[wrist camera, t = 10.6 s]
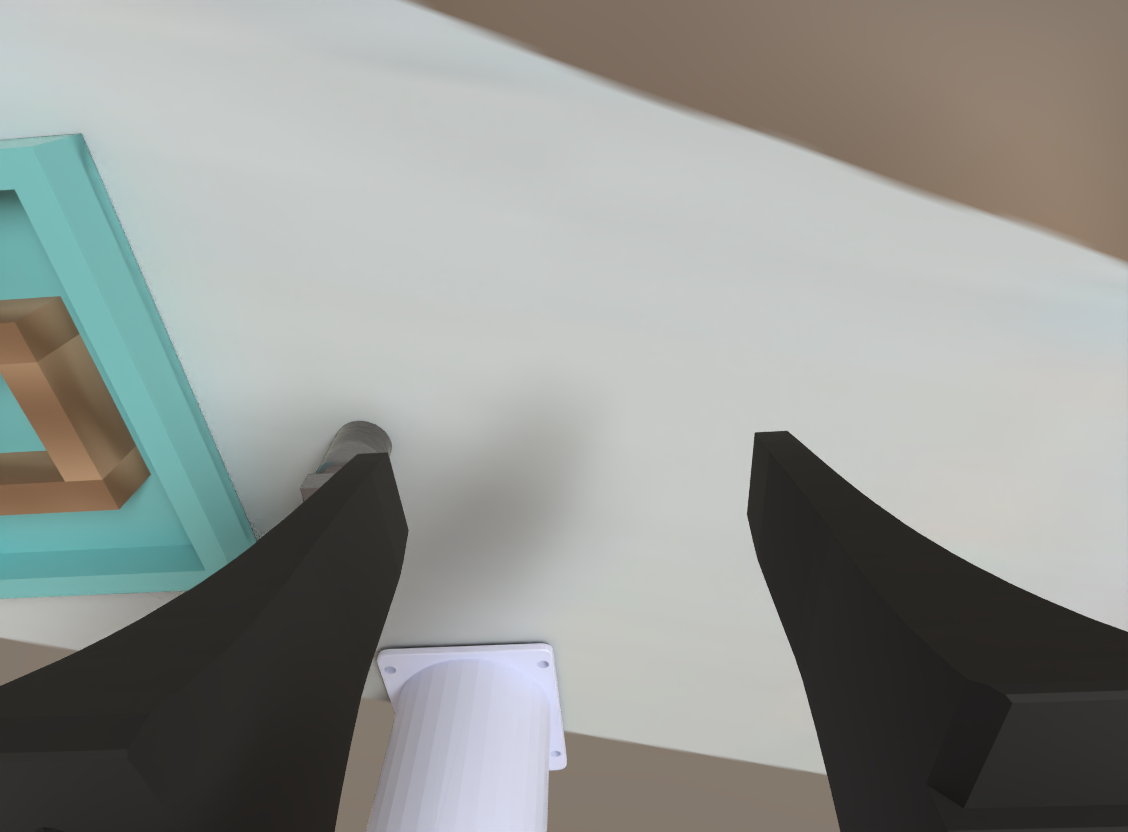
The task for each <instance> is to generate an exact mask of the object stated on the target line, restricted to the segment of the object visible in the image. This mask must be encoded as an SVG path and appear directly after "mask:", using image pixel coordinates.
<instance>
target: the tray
mask: <svg viewBox="0 0 1128 832" xmlns="http://www.w3.org/2000/svg"><path fill="white" fill-rule="evenodd" d="M55 296H61V298H62V300H63V302H64V304H65V306H66V308H67V310H68V312H69V314H70V316H71V318H72V320H73V322H74V323H75V325H76V327H77V329H78V331H79V333H80V335H81V337H82V339H83V341H84V343H85V345H86V347H87V349H88V351H89V353H90V355H91V357H92V359H93V361H94V363H95V365H96V367H97V369H98V371H99V373H100V375H101V377H102V379H103V381H104V383H105V385H106V387H107V389H108V391H109V393H110V395H111V396H112V398H113V400H114V402H115V404H116V406H117V408H118V410H119V412H120V414H121V416H122V418H123V420H124V422H125V424H126V426H127V428H128V430H129V432H130V434H131V436H132V438H133V440H134V442H135V444H136V446H137V448H138V450H139V452H140V454H141V456H142V458H143V460H144V462H145V464H146V466H147V468H148V469H149V471H150V473H151V475H150V476H149V477H148V478H147V479H146V481H145V482H144V483H143V484H142V485H141V486H140V487H139V488H138V489H137V491H136V492H135V493H134V494H133V495H132V496H131V497H130V498H129V499H128V501H127V502H126V503H125V504H124V505H123V506H122V507H121V508H120V509H119V510H103V511H83V512H63V513H43V514H22V515H2V516H0V599H6V598H29V597H52V596H75V595H98V594H121V593H144V592H166V591H188V590H190V589H191V588H193V587H195V586H196V585H198V584H199V583H201V582H202V581H204V580H205V579H207V578H208V577H209V576H211V575H212V574H214V573H215V572H217V571H218V570H220V569H221V568H223V567H224V566H225V565H227V564H228V563H230V562H231V561H232V560H234V559H235V558H236V557H238V556H239V555H240V554H242V553H243V552H244V551H246V550H247V549H248V548H250V547H251V546H252V545H253V544H255V543H256V542H257V541H256V538H255V536H254V534H253V531H252V529H251V527H250V524H249V522H248V520H247V517H246V515H245V513H244V510H243V508H242V506H241V503H240V501H239V499H238V496H237V494H236V492H235V489H234V487H233V485H232V483H231V480H230V478H229V476H228V473H227V471H226V469H225V466H224V464H223V462H222V459H221V457H220V455H219V452H218V450H217V448H216V445H215V443H214V441H213V438H212V436H211V434H210V431H209V429H208V427H207V424H206V422H205V420H204V417H203V415H202V413H201V410H200V408H199V406H198V403H197V401H196V399H195V396H194V394H193V392H192V390H191V387H190V385H189V383H188V380H187V378H186V376H185V373H184V371H183V369H182V366H181V364H180V362H179V359H178V357H177V355H176V352H175V350H174V348H173V345H172V343H171V341H170V338H169V336H168V334H167V331H166V329H165V327H164V324H163V322H162V320H161V317H160V315H159V313H158V310H157V308H156V306H155V303H154V301H153V299H152V297H151V294H150V292H149V290H148V287H147V285H146V283H145V280H144V278H143V276H142V273H141V271H140V269H139V266H138V264H137V262H136V259H135V257H134V255H133V252H132V250H131V248H130V245H129V243H128V241H127V238H126V236H125V234H124V231H123V229H122V227H121V224H120V222H119V220H118V217H117V215H116V213H115V210H114V208H113V206H112V203H111V201H110V199H109V197H108V194H107V192H106V190H105V187H104V185H103V183H102V180H101V178H100V176H99V173H98V171H97V169H96V166H95V164H94V162H93V159H92V157H91V155H90V152H89V150H88V148H87V145H86V143H85V141H84V138H83V136H82V134H81V133H80V134H68V135H55V136H43V137H30V138H18V139H6V140H0V300H10V299H25V298H40V297H55ZM28 451H46V449H45V447H44V445H43V444H42V442H41V440H40V439H39V437H38V435H37V434H36V432H35V430H34V429H33V427H32V425H31V424H30V422H29V420H28V419H27V417H26V415H25V414H24V412H23V410H22V409H21V407H20V405H19V404H18V402H17V400H16V399H15V397H14V395H13V393H12V392H11V390H10V388H9V387H8V385H7V383H6V382H5V380H4V378H3V377H2V375H1V373H0V453H10V452H28Z"/></svg>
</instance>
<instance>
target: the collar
mask: <svg viewBox="0 0 1128 832" xmlns="http://www.w3.org/2000/svg"><path fill="white" fill-rule="evenodd" d="M0 373H1V375H2V377H3V378H4V380H5V382H6V383H7V385H8V387H9V388H10V390H11V392H12V393H13V395H14V397H15V399H16V400H17V402H18V404H19V405H20V407H21V409H22V410H23V412H24V414H25V415H26V417H27V419H28V420H29V422H30V424H31V425H32V427H33V429H34V430H35V432H36V434H37V435H38V437H39V439H40V440H41V442H42V444H43V445H44V447H45V449H46V451H28V452H10V453H0V516H2V515H22V514H43V513H63V512H83V511H103V510H119V509H120V508H121V507H122V506H123V505H124V504H125V503H126V502H127V501H128V499H129V498H130V497H131V496H132V495H133V494H134V493H135V492H136V491H137V489H138V488H139V487H140V486H141V485H142V484H143V483H144V482H145V481H146V479H147V478H148V477H149V476H150V475H151V473H150V471H149V469H148V468H147V466H146V464H145V462H144V460H143V458H142V456H141V454H140V452H139V450H138V448H137V446H136V444H135V442H134V440H133V438H132V436H131V434H130V432H129V430H128V428H127V426H126V424H125V422H124V420H123V418H122V416H121V414H120V412H119V410H118V408H117V406H116V404H115V402H114V400H113V398H112V396H111V395H110V393H109V391H108V389H107V387H106V385H105V383H104V381H103V379H102V377H101V375H100V373H99V371H98V369H97V367H96V365H95V363H94V361H93V359H92V357H91V355H90V353H89V351H88V349H87V347H86V345H85V343H84V341H83V339H82V337H81V335H80V333H79V331H78V329H77V327H76V325H75V323H74V322H73V320H72V318H71V316H70V314H69V312H68V310H67V308H66V306H65V304H64V302H63V300H62V298H61V296H55V297H40V298H25V299H10V300H0Z"/></svg>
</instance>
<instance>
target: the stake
mask: <svg viewBox="0 0 1128 832" xmlns="http://www.w3.org/2000/svg"><path fill="white" fill-rule="evenodd" d="M391 450H392V445H391V441H390V439H389V437H388V435H387V434H386V433H385V431H383V430H382V429H381V428H380V427H378V426H376V425H374V424H372V423H369V422H364V421H355V422H351V423H348V424H346V425H344V426H343V427H342V428H341V429H340V430H339V432H338V434H337V436H336V437H335V439H334V441H333V443H332V445H331V446H330V448H329V450H328V452H327V454H326V456H325V457H324V459H323V461H322V463H321V465H320V466H319V468H318V470H317V472H316V474H308V476H307V477H306V479H305V481H304V483H303V484H302V486H301V488H300V489H301V492H302V495H303V502H304V501H306V500H307V499H308V498H309V497H310V496H311V495H312V494H313V493H314V492H316V491H317V490H318V489H319V488H320V487H321V486H322V485H323V484H324V483H325V482H327V481H328V480H329V479H330V478H331V477H332V476H333V475H334V474H335V473H336V472H337V471H339V470H340V469H341V468H342V467H343V466H344V465H345V464H346V463H347V462H349V461H350V460H351V459H352V458H353V457H355V456H356V455H357V454H365V453H383V452H388V455H389V456H390V454H391Z"/></svg>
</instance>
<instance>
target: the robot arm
mask: <svg viewBox="0 0 1128 832" xmlns="http://www.w3.org/2000/svg"><path fill="white" fill-rule="evenodd" d="M747 516H748V521H749V525H750V530H751V534H752V539H753V543H754V547H755V551H756V555H757V559H758V562H759V564H760V567H761V570H762V573H763V575H764V578H765V581H766V583H767V586H768V588H769V591H770V594H771V596H772V599H773V602H774V604H775V607H776V609H777V612H778V615H779V617H780V620H781V622H782V625H783V628H784V630H785V633H786V635H787V638H788V641H789V643H790V646H791V648H792V651H793V654H794V656H795V659H796V662H797V665H798V668H799V671H800V674H801V677H802V680H803V683H804V687H805V691H806V694H807V698H808V702H809V706H810V709H811V713H812V717H813V720H814V724H815V728H816V732H817V736H818V740H819V744H820V748H821V752H822V756H823V760H824V764H825V768H826V772H827V776H828V780H829V784H830V788H831V792H832V797H833V801H834V805H835V810H836V814H837V818H838V823H839V827H840V832H1128V632H1127V631H1124V630H1121V629H1118V628H1115V627H1113V626H1110V625H1107V624H1104V623H1102V622H1099V621H1096V620H1093V619H1091V618H1088V617H1086V616H1083V615H1081V614H1079V613H1076V612H1074V611H1071V610H1069V609H1067V608H1064V607H1062V606H1060V605H1057V604H1055V603H1052V602H1050V601H1048V600H1045V599H1043V598H1041V597H1038V596H1036V595H1034V594H1032V593H1030V592H1028V591H1025V590H1023V589H1021V588H1019V587H1017V586H1015V585H1012V584H1010V583H1008V582H1006V581H1004V580H1002V579H1000V578H999V577H997V576H995V575H993V574H991V573H989V572H987V571H985V570H983V569H981V568H979V567H977V566H975V565H973V564H971V563H969V562H967V561H966V560H964V559H962V558H960V557H958V556H956V555H955V554H953V553H951V552H950V551H948V550H946V549H945V548H943V547H941V546H940V545H938V544H936V543H935V542H933V541H931V540H930V539H928V538H926V537H925V536H923V535H921V534H920V533H918V532H916V531H915V530H913V529H912V528H910V527H909V526H907V525H906V524H904V523H903V522H901V521H900V520H898V519H897V518H896V517H894V516H893V515H891V514H890V513H889V512H887V511H886V510H884V509H883V508H881V507H880V506H879V505H877V504H876V503H874V502H873V501H872V500H871V499H869V498H868V497H867V496H865V495H864V494H863V493H861V492H860V491H859V490H857V489H856V488H855V487H854V486H852V485H851V484H850V483H849V482H847V481H846V480H845V479H844V478H842V477H841V476H840V475H839V474H837V473H836V472H835V471H834V470H833V469H831V468H830V467H829V466H828V465H827V464H826V463H824V462H823V461H822V460H821V459H820V458H818V457H817V456H816V455H815V454H814V453H813V452H811V451H810V450H809V449H808V448H807V447H806V446H804V445H803V444H802V443H801V442H800V441H799V440H798V439H796V438H795V437H794V436H793V435H792V434H790V433H789V432H788V431H775V432H756V433H755V437H754V447H753V458H752V468H751V478H750V489H749V499H748V510H747ZM407 536H408V527H407V523H406V519H405V515H404V512H403V508H402V504H401V500H400V496H399V493H398V489H397V485H396V481H395V477H394V474H393V470H392V466H391V462H390V458H389V455H388V452H383V453H365V454H357V455H356V456H355V457H353V458H352V459H351V460H350V461H349V462H347V463H346V464H345V465H344V466H343V467H342V468H341V469H340V470H339V471H337V472H336V473H335V474H334V475H333V476H332V477H331V478H330V479H329V480H328V481H327V482H325V483H324V484H323V485H322V486H321V487H320V488H319V489H318V490H317V491H316V492H314V493H313V494H312V495H311V496H310V497H309V498H308V499H307V500H306V501H304V502H303V503H302V504H301V505H300V506H299V507H298V508H297V509H295V510H294V511H293V512H292V513H291V514H290V515H289V516H288V517H286V518H285V519H284V520H283V521H281V522H280V523H279V524H278V525H277V526H275V527H274V528H273V529H272V530H270V531H269V532H268V533H267V534H266V535H264V536H263V537H262V538H261V539H259V540H258V541H257V542H256V543H255V544H253V545H252V546H251V547H250V548H248V549H247V550H246V551H244V552H243V553H242V554H240V555H239V556H238V557H236V558H235V559H234V560H232V561H231V562H230V563H228V564H227V565H225V566H224V567H223V568H221V569H220V570H218V571H217V572H215V573H214V574H212V575H211V576H209V577H208V578H207V579H205V580H204V581H202V582H201V583H199V584H198V585H196V586H195V587H193V588H191V589H190V590H188V591H186V592H185V593H183V594H181V595H180V596H178V597H176V598H175V599H173V600H171V601H170V602H168V603H166V604H165V605H163V606H161V607H160V608H158V609H156V610H155V611H153V612H151V613H150V614H148V615H146V616H145V617H143V618H141V619H140V620H138V621H136V622H134V623H132V624H130V625H128V626H127V627H125V628H123V629H121V630H119V631H117V632H115V633H114V634H112V635H110V636H108V637H106V638H104V639H102V640H100V641H98V642H96V643H94V644H92V645H90V646H88V647H86V648H84V649H82V650H80V651H78V652H76V653H74V654H72V655H70V656H67V657H65V658H63V659H61V660H59V661H56V662H54V663H52V664H50V665H47V666H45V667H43V668H40V669H38V670H36V671H34V672H31V673H29V674H27V675H24V676H22V677H20V678H18V679H15V680H13V681H11V682H9V683H6V684H4V685H2V686H0V832H334V831H335V825H336V820H337V814H338V808H339V802H340V797H341V791H342V786H343V781H344V776H345V771H346V766H347V761H348V756H349V751H350V746H351V741H352V736H353V731H354V727H355V722H356V718H357V714H358V709H359V704H360V700H361V696H362V692H363V689H364V685H365V682H366V678H367V675H368V672H369V669H370V666H371V663H372V660H373V657H374V654H375V651H376V648H377V645H378V642H379V639H380V636H381V633H382V630H383V627H384V624H385V621H386V618H387V615H388V612H389V609H390V606H391V603H392V600H393V597H394V594H395V590H396V587H397V584H398V581H399V578H400V574H401V569H402V564H403V559H404V554H405V548H406V542H407ZM377 664H378V667H379V669H380V672H381V675H382V678H383V681H384V684H385V687H386V690H387V693H388V696H389V698H390V701H391V704H392V707H393V710H394V713H395V719H394V723H393V727H392V731H391V735H390V739H389V743H388V747H387V750H386V754H385V758H384V763H383V766H382V770H381V774H380V778H379V782H378V786H377V790H376V794H375V798H374V802H373V806H372V810H371V814H370V818H369V822H368V826H367V830H366V832H547V810H548V780H549V779H548V778H549V777H548V776H549V770H560V769H563V768H565V767H566V765H567V757H566V748H565V740H564V732H563V724H562V716H561V708H560V700H559V692H558V684H557V676H556V668H555V660H554V652H553V649H552V647H551V646H550V645H548V644H544V643H535V644H508V645H482V646H456V647H430V648H404V649H386V650H382V651H381V652H380V653H379V655H378V658H377Z"/></svg>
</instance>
